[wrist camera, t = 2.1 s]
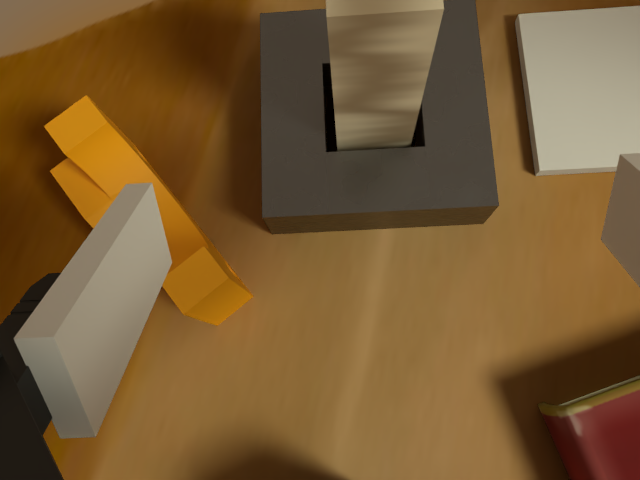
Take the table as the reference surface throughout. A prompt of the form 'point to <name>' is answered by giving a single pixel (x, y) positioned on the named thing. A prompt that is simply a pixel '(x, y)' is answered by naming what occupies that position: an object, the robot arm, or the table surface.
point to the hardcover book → (598, 432)
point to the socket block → (378, 164)
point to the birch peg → (379, 68)
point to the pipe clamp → (180, 229)
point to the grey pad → (581, 87)
